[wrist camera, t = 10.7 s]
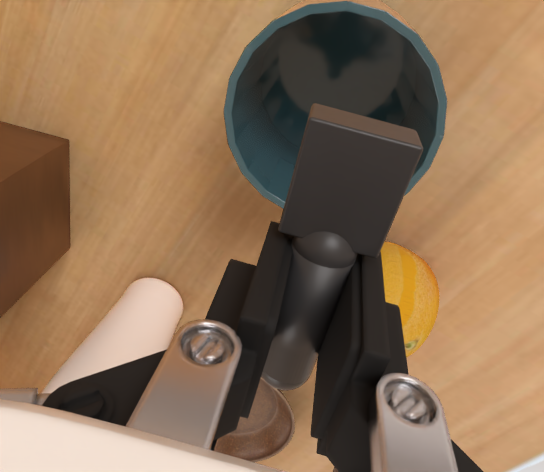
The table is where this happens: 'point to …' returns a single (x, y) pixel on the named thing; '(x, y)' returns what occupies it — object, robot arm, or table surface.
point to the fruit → (410, 293)
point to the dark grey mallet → (334, 225)
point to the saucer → (261, 427)
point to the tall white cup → (125, 331)
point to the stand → (31, 208)
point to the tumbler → (329, 85)
